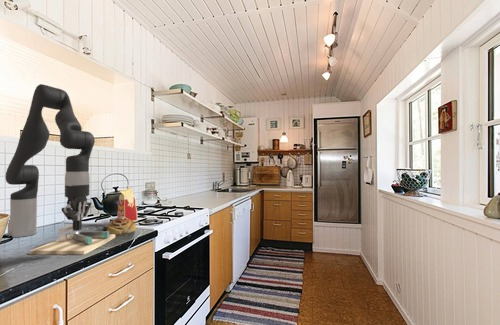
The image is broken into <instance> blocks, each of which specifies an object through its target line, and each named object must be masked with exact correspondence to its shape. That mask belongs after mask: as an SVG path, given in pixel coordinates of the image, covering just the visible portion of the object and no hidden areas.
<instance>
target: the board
mask: <svg viewBox="0 0 500 325" xmlns="http://www.w3.org/2000/svg"><path fill="white" fill-rule="evenodd" d="M114 239H116V236H115V234H109V237H108V238H92V243H91V244H85V243H83V242H79V241H76V240H72V236H70V234H69V235H68V234H67V240H66V241H58V239H56V240H53V241H51V242H48V243H45V244H43V245H41V246H38V247H36V248H34V249H30V250H29V251H28V252H29V253H28V254H29V255H66V256H67V255H86V254H88V253H90V252H92V251H93V250H95V249H97V248H100V247H101V246H103V245H105V244H106V243H108V242H111V240H114Z"/></svg>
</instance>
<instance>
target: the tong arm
mask: <svg viewBox="0 0 500 325" xmlns="http://www.w3.org/2000/svg"><path fill="white" fill-rule="evenodd" d="M73 240H76V241H79V242H83V243H85V244H91V243H92V237H89V236H85V235H81V234H80V233H79V234H77V233H75V234H73Z"/></svg>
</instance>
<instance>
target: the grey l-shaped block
mask: <svg viewBox="0 0 500 325" xmlns="http://www.w3.org/2000/svg"><path fill="white" fill-rule="evenodd" d="M57 231H58V232H57V233H58V234H57V240H58V241H66V240H67V236H68V231H69V235H70V236H72V232H74V230H73V223H70V224H67V225H64V226H61V227H58V230H57Z"/></svg>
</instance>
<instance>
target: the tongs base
mask: <svg viewBox="0 0 500 325" xmlns="http://www.w3.org/2000/svg"><path fill="white" fill-rule="evenodd" d="M75 233H77V234H81V235H85V236H89V237H92V238H108V237H109V231H104V230H102V231H101V230H98V231H95V230H93V231H91V230H90V231H89V230H88V231H86V230H85V231H80V230H78V231H74V232H72V240H73V234H75Z"/></svg>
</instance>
